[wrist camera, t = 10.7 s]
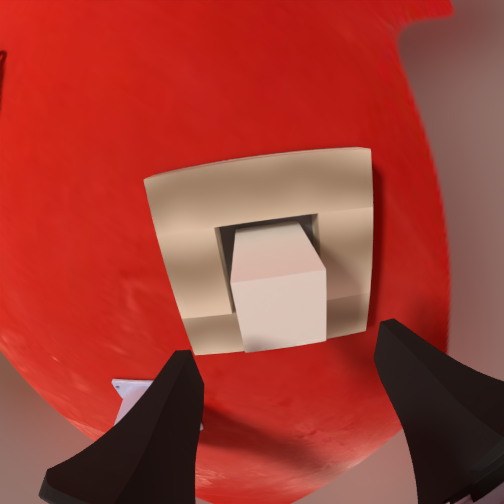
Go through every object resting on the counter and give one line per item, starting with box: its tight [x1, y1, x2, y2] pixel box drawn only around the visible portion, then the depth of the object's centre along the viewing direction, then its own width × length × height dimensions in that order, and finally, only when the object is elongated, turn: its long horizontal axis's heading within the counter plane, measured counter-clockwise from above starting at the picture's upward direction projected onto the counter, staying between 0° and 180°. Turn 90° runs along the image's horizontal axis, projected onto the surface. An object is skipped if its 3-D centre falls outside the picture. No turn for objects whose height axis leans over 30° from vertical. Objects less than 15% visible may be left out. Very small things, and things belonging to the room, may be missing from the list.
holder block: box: [144, 147, 373, 355], centre depth 18 cm, size 13×13×2 cm
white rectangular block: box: [230, 221, 326, 353], centre depth 15 cm, size 4×4×7 cm
